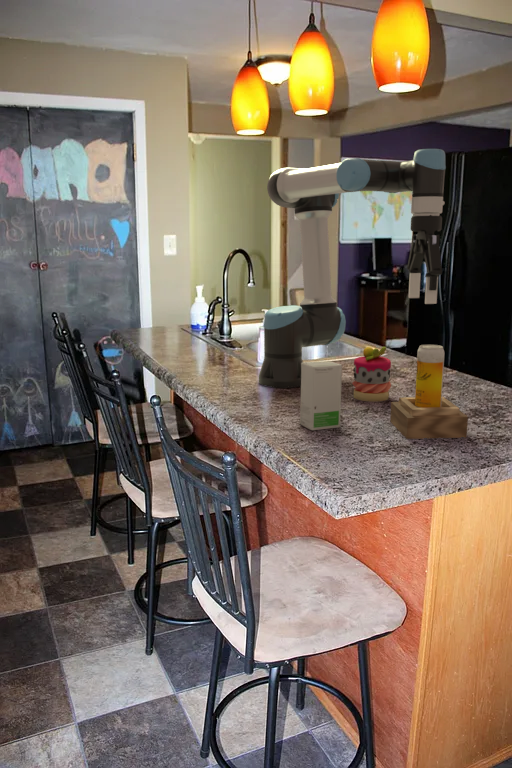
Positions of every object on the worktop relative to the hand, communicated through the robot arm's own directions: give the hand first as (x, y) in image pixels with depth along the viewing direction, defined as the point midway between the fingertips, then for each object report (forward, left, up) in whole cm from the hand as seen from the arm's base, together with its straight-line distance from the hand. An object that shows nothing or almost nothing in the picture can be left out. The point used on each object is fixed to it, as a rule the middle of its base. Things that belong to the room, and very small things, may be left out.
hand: (421, 300), depth 168 cm
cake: (-9, +13, -29) cm, 33 cm away
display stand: (-3, -18, -29) cm, 34 cm away
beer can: (-3, -18, -24) cm, 30 cm away
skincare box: (-28, -13, -29) cm, 42 cm away
